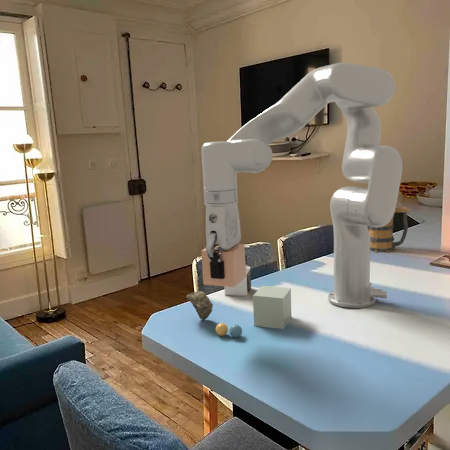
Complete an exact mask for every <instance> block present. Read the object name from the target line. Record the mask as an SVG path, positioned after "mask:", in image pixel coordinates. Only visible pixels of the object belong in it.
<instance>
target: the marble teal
mask: <svg viewBox="0 0 450 450" xmlns="http://www.w3.org/2000/svg"><path fill="white" fill-rule="evenodd" d="M228 333H229V335H230V336H231V337H232V338H237V339H238V338H239V337H241V336H242V334H243V329H242V326H241V325H239V324H233V325H231V326H230V327H229V329H228Z"/></svg>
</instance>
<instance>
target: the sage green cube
mask: <svg viewBox="0 0 450 450" xmlns="http://www.w3.org/2000/svg"><path fill="white" fill-rule="evenodd" d="M252 304H253V306H252V307H253V326H255V327H264V328H272V329H280V330H281V329H282V330H284V329H285V328H286V327H287V325H288V323H289V321H290V320H291V318H292V289H291V287H280V286H271V285H269V286H268V285H262V286H261V287H260V288H259V289H258V290H257V291H256V292H254V294H253V295H252Z"/></svg>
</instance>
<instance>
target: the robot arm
mask: <svg viewBox="0 0 450 450" xmlns="http://www.w3.org/2000/svg"><path fill="white" fill-rule="evenodd" d="M395 91H396V82H395V80H394V77H393V75H392V74H391V73H390V72H388V71H387V70H385V69H383V68H379V67H373V66H368V65H367V66H366V65H361V64H356V63H350V62H337V63H336V62H335V63H332V64H328V65H324V66H320V67H318V68H317V67H316V68H315V69H312V70H311V71H309V72H308V73H307V74H306V75H305V76H303V78H301V79H300V81H299V82H297V83H296V84H295V85H294V86H292V88H291V89H290V90H289V91H288V92H286V94H285V95H283V97H281V99H279V100H278V101H277V102H276V103H275V104H273V105H271V106H270V107H269V108H267V109H265V110H264V111H263V112H262V113H260V114H258V115H257V116H256V117H254V118H252V119H251V120H249V121H248V122H247V123H245V124H244V125H243V126H241V128H239V130H237V131H236V132H235V133H234V134H233V135H232V136H231V137H230V138H229V139H228V140H227V141H226V140H225V141H223V140H222V141H209V142H205V143H203V145H202V146H201V150H200V151H201V165H202V166H201V168H202V181H203V182H202V183H203V185H202V186H203V198H204V199H203V200H204V201H203V202H204V203H203V204H204V206H205V207H206V208H205V240H206V246H205V248H206V251H207V253H208V257H209V262H210V273H211V278H214V279H224V278H225V273H224V261H222V258H223V253H222V252H223V251H224V250H228V249H230V248H232V247H233V246H235V245H236V244H240V241H241V240H242V232H241V231H242V230H241V221H240V213H239V207H238V204H239V201H238V200H239V199H238V180H237V179H238V177H237V174H238V173H252V174H256V173H260V172H263V171H264V170H266V169H267V168H269V166H270V165H271V163H272V161H273V156H274V155H273V150H272V148H271V146H270V144H271V143H273V142H275V141H277V140H281V139H283V138H286V137H289V136H291V135H294V134H296V133H298V132H300V131H301V130H302V129H303V128H304V127H305V126H306V125H307V124H308V123H309V122H310V121H312V119H313V118H315V116H317V114H318V113H320V111H322V110H323V109H324V107H326V105H328V104H329V103H335V104H336V106H337V107H338V108H339V110H340V111H341V112H342V114H343V116H344V118H345V120H346V125H347V127H346V130H347V131H346V137H345V138H346V139H345V145H344V151H343V156H342V162H341V171H342V175H343V177H344V178H346V179H347V180H349V181H352V182H358V183H365V184H367V185H368V186H367V187H361V186H352V185H351V186H344V187H340V188H338V189H337V190H336V191H335V192H333V194H332V196H331V198H330V203H329V209H330V215H331V216H330V217H331V220H332V221H331V222H332V228H333V290H332V291H331V292H330V293H328V296H327V299H328V301H329V302H330V303H331V304H333V305H335V306H338V307H342V308H347V309H363V308H367V307H370V306H372V305H375V304H376V298H380V299H387V298H388V291H386V290H384V288H374V287H373V285H372V282H370V281H371V280H370V278H371V276H370V275H371V251H370V234H369V228H368V227H367V226H371V227H383V226H385V225H387V224H388V223H389V222H390V221H391V219H392V217H393V215H395V214H394V212H395V208H397V205H396V203H397V204H398V196H399V191H400V186H401V180H402V174H403V160H402V157H401V154H400V153H399V151H398V150H397V149H396V148H395V147H392V146H391V145H384V144H381V145H380V143H381V133H382V122H381V119H380V117H379V115H378V113H377V111H376V110H375V108H376V107H383V106H384V105H386V104H387V103H388V102H390V101H391V100H392V98H393V97H394V95H395ZM393 218H394V217H393ZM216 246H220V247H216ZM215 251H219V256H218V254H217V252H215Z"/></svg>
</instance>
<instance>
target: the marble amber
mask: <svg viewBox="0 0 450 450" xmlns="http://www.w3.org/2000/svg"><path fill="white" fill-rule="evenodd" d="M215 332H216V334H217V335H218V336H220V337H223V336H225V335H227V333H229V326H228V325H227V324H226V323H224V322H220V323H218V324H217V325H216V327H215Z"/></svg>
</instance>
